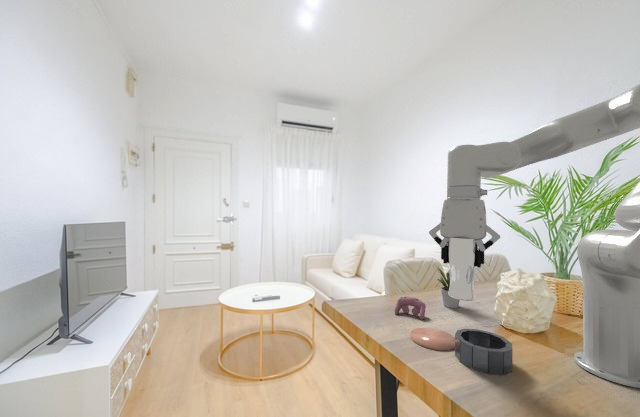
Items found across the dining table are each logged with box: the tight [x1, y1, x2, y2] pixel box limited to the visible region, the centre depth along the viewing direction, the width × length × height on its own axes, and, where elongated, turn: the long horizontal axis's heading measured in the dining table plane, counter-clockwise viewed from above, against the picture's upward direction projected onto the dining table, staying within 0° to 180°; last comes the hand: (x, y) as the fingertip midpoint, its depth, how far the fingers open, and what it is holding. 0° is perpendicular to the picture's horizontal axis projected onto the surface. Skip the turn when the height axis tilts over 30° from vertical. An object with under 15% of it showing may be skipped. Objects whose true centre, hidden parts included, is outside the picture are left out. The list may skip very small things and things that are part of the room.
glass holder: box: [454, 328, 513, 376], centre depth 62 cm, size 11×11×5 cm
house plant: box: [435, 262, 461, 309], centre depth 99 cm, size 14×14×16 cm
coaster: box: [409, 327, 455, 352], centre depth 73 cm, size 12×12×1 cm
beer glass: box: [447, 237, 479, 302], centre depth 67 cm, size 7×7×15 cm
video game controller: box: [394, 296, 427, 321], centre depth 91 cm, size 10×5×7 cm, turn 58°
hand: (461, 264), depth 67 cm, fingers closed on beer glass, 6 cm apart
